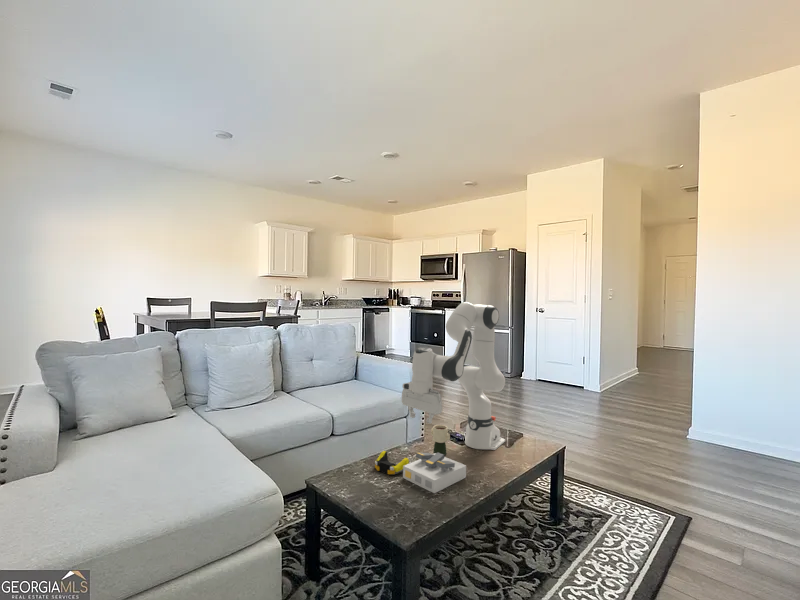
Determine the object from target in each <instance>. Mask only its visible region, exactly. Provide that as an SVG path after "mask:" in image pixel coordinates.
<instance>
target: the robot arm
mask: <svg viewBox="0 0 800 600" xmlns="http://www.w3.org/2000/svg"><path fill="white" fill-rule="evenodd" d="M499 320H500V313H499V310H498V308H497V307H496V306H493V305H491V304H488V305H487V304H481V303H479V304H472V303H470V302H468V301H464V302H461V303H459V304H458V306H456V308H455V309H454V310H453V311H452V313H451V314H450V315H449V318H447V321H446V323H445V331H446V333H447V335H448V336H449V337H450V338H451V339H452V340H454V341H456V342H457V344H456V347H455V350H454V353H453V354H452V355H442V354H437V353H435V352H434V351H433V349H432V348H430V347H418V348H416V349H415V350H414V352H413V354H412V355H413V356H412V364H411V370H412V376H411V381H409V382H404V383H402V391H401V404H402V405H403V406H405V407H408V408H407V409H408V411H409V417H410V418H411V419H414V418H416V413H415V411H414V409H417V410H418V411H422V412H425V413H428V417H427V418H426V423H427V424H432V423H433V418H434V416H435V415H440V414H442V412H443V401H442V394H441V392H440V391H439V390H437V389H436V390H435V389H433V384H434V383H433V382H434V380H433V377H434V378H437V379H444V380H446V381H450V382H456V381H457V380H458V382H459V384H460V385H461V386H462V387H463V389H464V390H465V393H466V396H467V400H468V414H467V424H466V427H465V436H464V437H465V441H464V444H465V445H466V446H467V447H469V448H472V449H474V450H475V449H476V450H493V451H495V450H497V449H498V448H499V447H501V445H503V444H504V443H505V442H506V439H505V438H504V437H501V430H500V429H499V428H498V427H497V426H496V425H495V424H494V422H495V421H496V416H493V415H492V402H491V399H489V397H487V396H486V394H485V393H484V392H489V393H498V392H501V391H502V390H503V389H504V387H505V385H506V378H505V376H504V374H503V372H501V370H500V368H499V367H498V366H497V363H496V359H495V339H496V333H495V331H496V330H495V326H497V324H498V322H499ZM472 328H473V333H472V332H471V329H472ZM470 348H471V356H472V357H473V358H474V360H476V361H477V362H478V364H479V367H478V366H473V365H467V366H465V362H466V360H467V356H468V353H469V350H470Z"/></svg>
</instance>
